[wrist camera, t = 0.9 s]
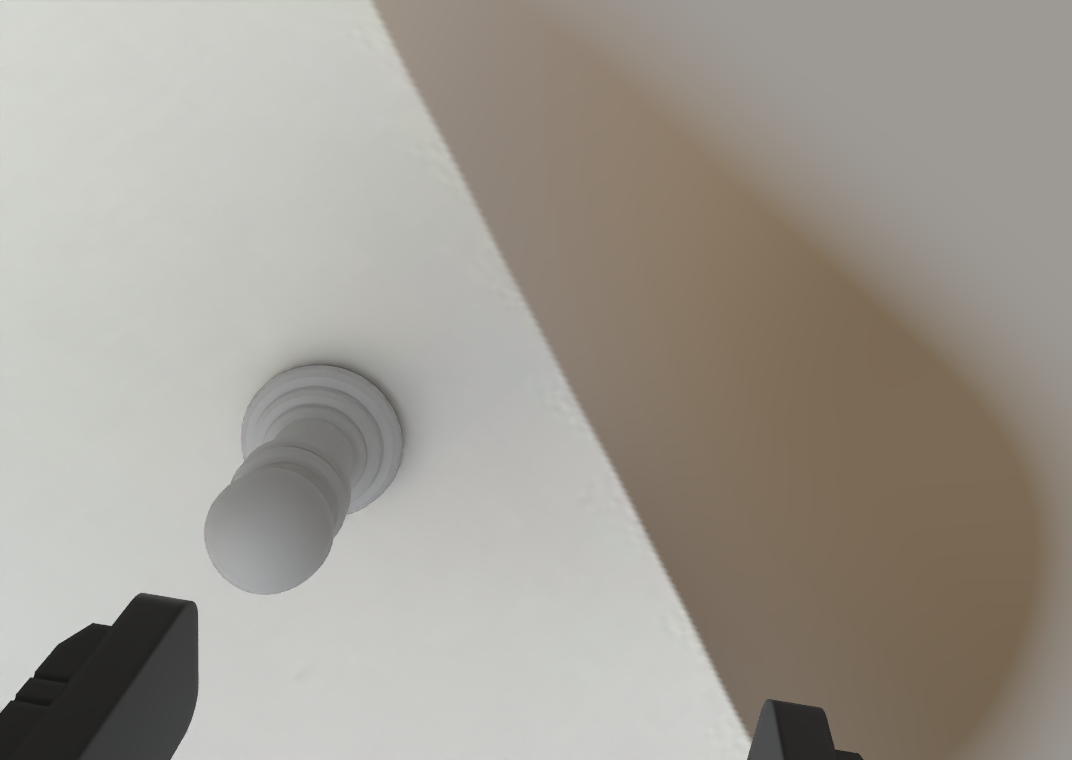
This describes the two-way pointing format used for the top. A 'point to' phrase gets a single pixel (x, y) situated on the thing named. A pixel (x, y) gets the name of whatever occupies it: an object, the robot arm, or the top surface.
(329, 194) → the top surface
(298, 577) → the chess piece
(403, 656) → the top surface
